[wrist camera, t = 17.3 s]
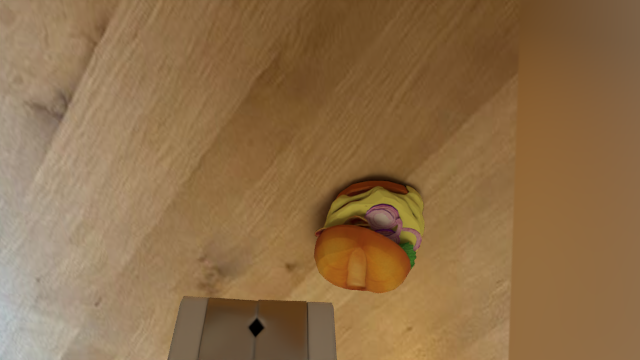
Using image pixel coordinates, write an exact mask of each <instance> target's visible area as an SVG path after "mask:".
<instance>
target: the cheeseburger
mask: <svg viewBox="0 0 640 360" xmlns="http://www.w3.org/2000/svg"><path fill="white" fill-rule="evenodd" d="M423 207H424V205H423V201H422V198H421V195H420V194H419V193H418V192H417V191H416V190H414V189H413V188H411V187H409V186H407V185H406V187H404V186H403V185H400V184H396V183H393V182H389V181H366V182H361V183H356V184H352V185H351V186H349V187H348V188H346V189H345V190H343V191H342V192H340V193H339V194H338V196H337V198H336V200H335V201H334V202H333V203H332V205H331V208H330V210H329V212H328V215H327V218H326V223H325V225H324V228H321V229H319V230H317V231H316V232H315V236H316V237H318V239H317V241H316V245H315V252H314V257H315V261H316V264H317V268H318V270H319V273H320V274H321V275H322V276H323V277H324V278H325V279H326V280H328V281H329V282H330V283H332V284H334V285H336V286H338V287H342V288H345V289H350V290H361V291H371V292H375V293H384V292H388V291H391V290H394V289H396V288H397V287H398V286H399V285H400V284H402V283H403V281H404V280H405V278H406V277H407V275H408V273H409V271H410V270H411V269H412V267H413V266H414V264H415V263H414V260H415V259H416V256H415V254H416V251H417V250H418V248H419V247H420V243H421V237H422V235H423V232H424V219H423V215H422V211H423Z"/></svg>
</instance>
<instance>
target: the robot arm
mask: <svg viewBox="0 0 640 360" xmlns="http://www.w3.org/2000/svg"><path fill="white" fill-rule="evenodd" d="M168 360H337V356H336V340H335V325H334V309H333V305H332V303H324V302H306V301H280V300H258V301H254V300H239V299H224V298H207V297H188V296H184V297H183V299H182V301H181V303H180V307H179V311H178V316H177V320H176V324H175V329H174V333H173V338H172V342H171V346H170V351H169V355H168Z"/></svg>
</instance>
